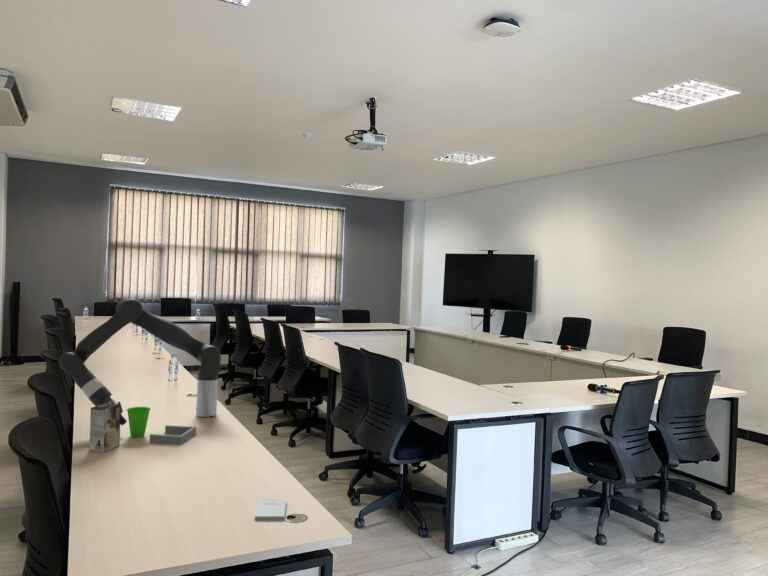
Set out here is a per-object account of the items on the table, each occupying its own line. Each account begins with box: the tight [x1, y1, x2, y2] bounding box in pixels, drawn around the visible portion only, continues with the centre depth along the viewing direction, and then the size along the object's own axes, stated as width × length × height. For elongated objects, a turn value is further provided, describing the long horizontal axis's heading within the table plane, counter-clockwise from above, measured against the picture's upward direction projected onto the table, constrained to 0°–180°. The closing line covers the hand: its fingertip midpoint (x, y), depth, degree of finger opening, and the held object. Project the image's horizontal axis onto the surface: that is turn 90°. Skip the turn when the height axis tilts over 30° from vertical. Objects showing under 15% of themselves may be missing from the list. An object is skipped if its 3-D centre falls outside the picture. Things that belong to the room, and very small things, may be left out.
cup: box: [126, 406, 152, 439], centre depth 236 cm, size 9×9×11 cm
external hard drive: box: [254, 499, 287, 521], centre depth 167 cm, size 2×8×12 cm
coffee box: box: [88, 403, 122, 453], centre depth 218 cm, size 9×6×16 cm
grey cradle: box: [149, 424, 197, 445], centre depth 235 cm, size 15×13×3 cm
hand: (124, 423), depth 236 cm, fingers closed
